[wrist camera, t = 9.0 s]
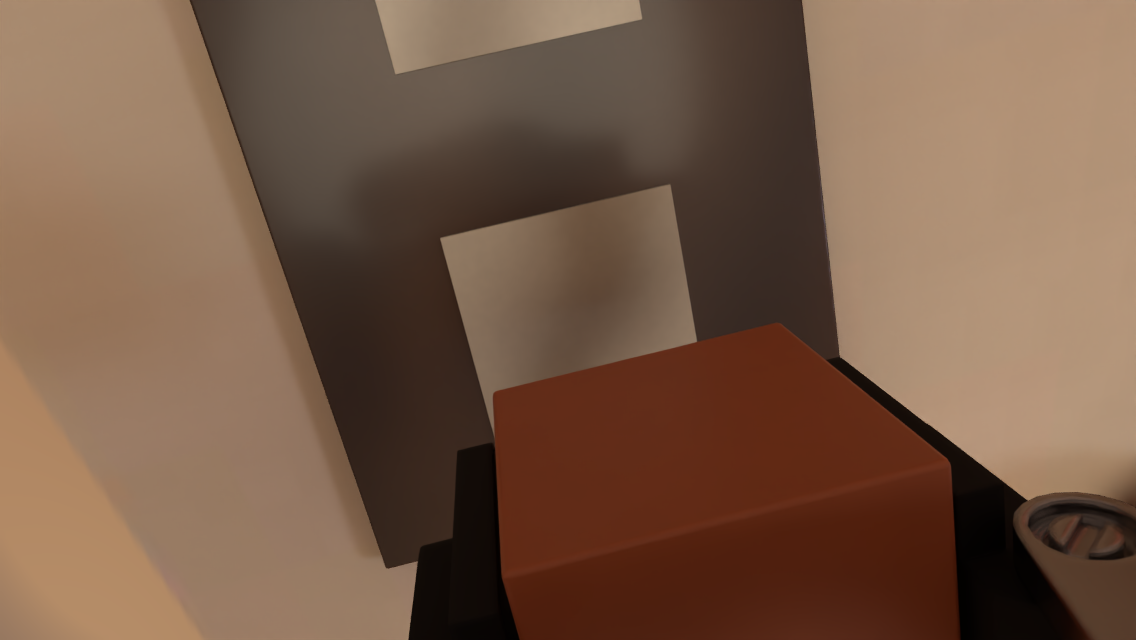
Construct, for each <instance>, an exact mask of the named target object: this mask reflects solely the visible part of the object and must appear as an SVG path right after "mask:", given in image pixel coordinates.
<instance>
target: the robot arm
mask: <svg viewBox="0 0 1136 640" xmlns="http://www.w3.org/2000/svg"><path fill="white" fill-rule="evenodd" d="M826 361H827V362H829V363H830V364H831V365H832V366H834V367H835V368H836V369H837V370H838V371H840V372H841V373H842V374H843V375H845V376H846V377H847V378H848V379H850V380H851V381H852V382H853V383H854V384H856V385H857V386H858V387H859V388H861V389H862V390H863V391H864V392H866V393H867V394H868V395H869V396H870V397H872V398H873V399H874V400H875V401H877V402H878V403H879V404H880V405H882V406H883V407H884V408H885V409H887V410H888V411H889V412H890V413H891V414H893V415H894V416H895V417H896V418H898V419H899V420H900V421H901V422H903V423H904V424H905V425H906V426H907V427H909V428H910V429H911V430H912V431H914V432H915V433H916V434H917V435H919V436H920V437H921V438H922V439H924V440H925V441H926V442H927V443H928V444H930V445H931V446H932V447H933V448H935V449H936V450H937V451H938V452H940V453H941V454H942V455H943V456H944V457H946V458H947V459H948V461H949V463H950V465H951V476H952V494H953V511H954V529H955V546H956V564H957V582H958V599H959V617H960V634H961V640H1136V507H1134V506H1132V505H1129V504H1127V503H1125V502H1123V501H1120V500H1116V499H1112V498H1109V497H1105V496H1101V495H1096V494H1088V493H1079V492H1064V493H1052V494H1047V495H1042V496H1037V497H1035V498H1033V499H1031V500H1029V501H1027V500H1026V499H1025V498H1024V497H1022V496H1021V495H1020V494H1018V493H1017V492H1016V491H1014V490H1013V489H1012V488H1011V487H1009V486H1008V485H1007V484H1005V483H1004V482H1003V481H1002V480H1000V479H999V478H998V477H996V476H995V475H994V474H992V473H991V472H990V471H989V470H987V469H986V468H985V467H983V466H982V465H981V464H979V463H978V462H977V461H976V460H974V459H973V458H972V457H970V456H969V455H968V454H966V453H965V452H964V451H963V450H961V449H960V448H959V447H957V446H956V445H955V444H954V443H952V442H951V441H950V440H948V439H947V438H946V437H944V436H943V435H942V434H941V433H939V432H938V431H937V430H935V429H934V428H933V427H931V426H930V425H928V424H926V423H925V422H924V421H922V420H921V419H920V418H918V417H917V416H916V415H915V414H913V413H912V412H911V411H909V410H908V409H907V408H906V407H904V406H903V405H902V404H900V403H899V402H898V401H896V400H895V399H894V398H893V397H891V396H890V395H889V394H887V393H886V392H885V391H884V390H882V389H881V388H880V387H878V386H877V385H876V384H874V383H873V382H872V381H871V380H869V379H868V378H867V377H865V376H864V375H863V374H862V373H860V372H859V371H858V370H856V369H855V368H854V367H852V366H851V365H850V364H849V363H847V362H846V361H845V360H843V359H842V358H840V357H836V358H831V359H827V360H826ZM408 640H520V639H519V635H518V632H517V629H516V625H515V622H514V618H513V615H512V611H511V608H510V604H509V601H508V597H507V594H506V590H505V587H504V584H503V580H502V575H501V555H500V535H499V514H498V494H497V474H496V454H495V447H494V444H493V442H490V443H486V444H482V445H478V446H474V447H470V448H466V449H462V450H458V451H457V463H456V482H455V501H454V520H453V538H451V539H447V540H443V541H439V542H435V543H431V544H427V545H423V546H422V547H420V551H419V557H418V565H417V573H416V582H415V590H414V598H413V606H412V615H411V623H410V631H409V639H408Z"/></svg>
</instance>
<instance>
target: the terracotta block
mask: <svg viewBox="0 0 1136 640" xmlns="http://www.w3.org/2000/svg"><path fill="white" fill-rule="evenodd" d="M493 413H494V434H495V454H496V474H497V494H498V514H499V535H500V555H501V575H502V580H503V584H504V587H505V590H506V594H507V597H508V601H509V604H510V608H511V611H512V615H513V618H514V622H515V625H516V629H517V632H518V635H519V639H520V640H961V634H960V617H959V599H958V582H957V564H956V546H955V529H954V511H953V494H952V476H951V465H950V463H949V461H948V459H947V458H946V457H944V456H943V455H942V454H941V453H940V452H938V451H937V450H936V449H935V448H933V447H932V446H931V445H930V444H928V443H927V442H926V441H925V440H924V439H922V438H921V437H920V436H919V435H917V434H916V433H915V432H914V431H912V430H911V429H910V428H909V427H907V426H906V425H905V424H904V423H903V422H901V421H900V420H899V419H898V418H896V417H895V416H894V415H893V414H891V413H890V412H889V411H888V410H887V409H885V408H884V407H883V406H882V405H880V404H879V403H878V402H877V401H875V400H874V399H873V398H872V397H870V396H869V395H868V394H867V393H866V392H864V391H863V390H862V389H861V388H859V387H858V386H857V385H856V384H854V383H853V382H852V381H851V380H850V379H848V378H847V377H846V376H845V375H843V374H842V373H841V372H840V371H838V370H837V369H836V368H835V367H834V366H832V365H831V364H830V363H829V362H827V361H826V360H825V359H824V358H822V357H821V356H820V355H819V354H817V353H816V352H815V351H814V350H813V349H811V348H810V347H809V346H808V345H806V344H805V343H804V342H803V341H801V340H800V339H799V338H798V337H797V336H795V335H794V334H793V333H792V332H790V331H789V330H788V329H787V328H785V327H784V326H783V325H782V324H781V323H773V324H769V325H765V326H761V327H757V328H753V329H749V330H744V331H740V332H736V333H732V334H728V335H724V336H720V337H716V338H712V339H708V340H703V341H699V342H695V343H691V344H687V345H683V346H679V347H675V348H671V349H666V350H662V351H658V352H654V353H650V354H646V355H642V356H638V357H634V358H629V359H625V360H621V361H617V362H613V363H609V364H605V365H601V366H597V367H593V368H588V369H584V370H580V371H576V372H572V373H568V374H564V375H560V376H556V377H551V378H547V379H543V380H539V381H535V382H531V383H527V384H523V385H519V386H514V387H510V388H506V389H502V390H498V391H495V392H494V393H493Z"/></svg>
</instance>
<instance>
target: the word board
mask: <svg viewBox="0 0 1136 640" xmlns="http://www.w3.org/2000/svg"><path fill="white" fill-rule="evenodd" d="M190 2H191V5H192V8H193V11H194V14H195V17H196V20H197V23H198V26H199V29H200V31H201V34H202V37H203V40H204V43H205V46H206V49H207V52H208V55H209V57H210V60H211V63H212V66H213V69H214V72H215V75H216V78H217V81H218V84H219V86H220V89H221V92H222V95H223V98H224V101H225V104H226V107H227V110H228V112H229V115H230V118H231V121H232V124H233V127H234V130H235V133H236V136H237V138H238V141H239V144H240V147H241V150H242V153H243V156H244V159H245V162H246V165H247V167H248V170H249V173H250V176H251V179H252V182H253V185H254V188H255V191H256V193H257V196H258V199H259V202H260V205H261V208H262V211H263V214H264V217H265V219H266V222H267V225H268V228H269V231H270V234H271V237H272V240H273V243H274V246H275V248H276V251H277V254H278V257H279V260H280V263H281V266H282V269H283V272H284V274H285V277H286V280H287V283H288V286H289V289H290V292H291V295H292V298H293V300H294V303H295V306H296V309H297V312H298V315H299V318H300V321H301V324H302V327H303V329H304V332H305V335H306V338H307V341H308V344H309V347H310V350H311V353H312V355H313V358H314V361H315V364H316V367H317V370H318V373H319V376H320V379H321V381H322V384H323V387H324V390H325V393H326V396H327V399H328V402H329V405H330V408H331V410H332V413H333V416H334V419H335V422H336V425H337V428H338V431H339V434H340V436H341V439H342V442H343V445H344V448H345V451H346V454H347V457H348V460H349V463H350V465H351V468H352V471H353V474H354V477H355V480H356V483H357V486H358V489H359V491H360V494H361V497H362V500H363V503H364V506H365V509H366V512H367V515H368V517H369V520H370V523H371V526H372V529H373V532H374V535H375V538H376V541H377V544H378V546H379V549H380V552H381V555H382V558H383V561H384V564H385V567H386V568H392V567H396V566H400V565H404V564H408V563H412V562H416V561H418V557H419V551H420V547H422V546H423V545H427V544H431V543H435V542H439V541H443V540H447V539H451V538H453V520H454V501H455V482H456V463H457V451H458V450H462V449H466V448H470V447H474V446H478V445H482V444H486V443H490V442H493V444H494V447H495V434H494V413H493V393H494V392H495V391H498V390H502V389H506V388H510V387H514V386H519V385H523V384H527V383H531V382H535V381H539V380H543V379H547V378H551V377H556V376H560V375H564V374H568V373H572V372H576V371H580V370H584V369H588V368H593V367H597V366H601V365H605V364H609V363H613V362H617V361H621V360H625V359H629V358H634V357H638V356H642V355H646V354H650V353H654V352H658V351H662V350H666V349H671V348H675V347H679V346H683V345H687V344H691V343H695V342H699V341H703V340H708V339H712V338H716V337H720V336H724V335H728V334H732V333H736V332H740V331H744V330H749V329H753V328H757V327H761V326H765V325H769V324H773V323H781V324H782V325H783V326H784V327H785V328H787V329H788V330H789V331H790V332H792V333H793V334H794V335H795V336H797V337H798V338H799V339H800V340H801V341H803V342H804V343H805V344H806V345H808V346H809V347H810V348H811V349H813V350H814V351H815V352H816V353H817V354H819V355H820V356H821V357H822V358H824V359H825V360H827V359H831V358H836V357H840V355H839V346H838V337H837V327H836V318H835V308H834V299H833V289H832V280H831V271H830V261H829V252H828V242H827V233H826V223H825V214H824V205H823V195H822V186H821V176H820V167H819V157H818V148H817V139H816V129H815V120H814V110H813V101H812V91H811V82H810V73H809V63H808V54H807V44H806V35H805V25H804V16H803V6H802V0H190Z"/></svg>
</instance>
